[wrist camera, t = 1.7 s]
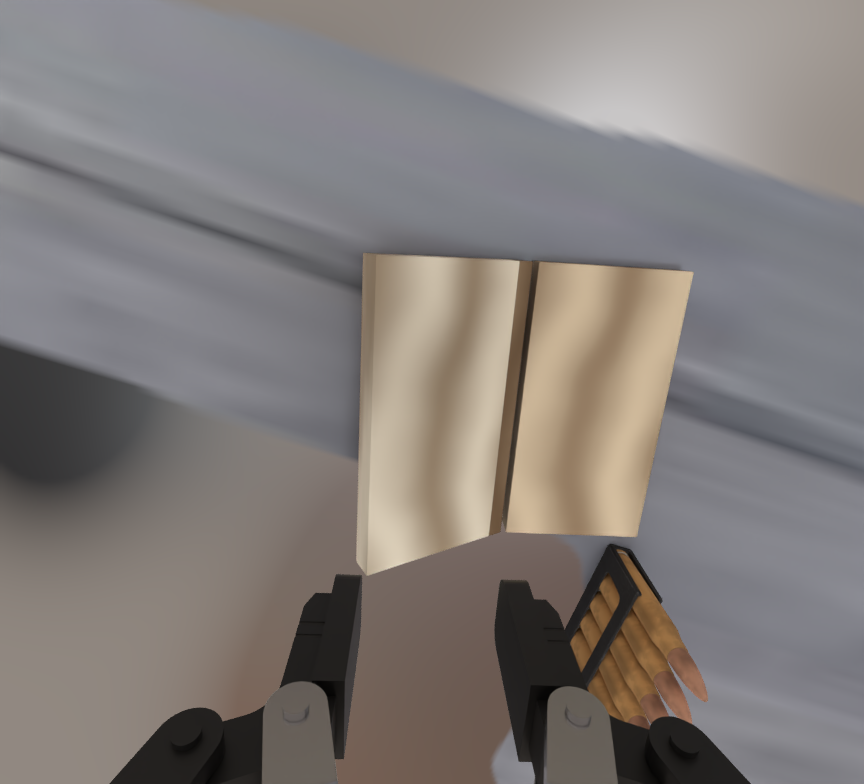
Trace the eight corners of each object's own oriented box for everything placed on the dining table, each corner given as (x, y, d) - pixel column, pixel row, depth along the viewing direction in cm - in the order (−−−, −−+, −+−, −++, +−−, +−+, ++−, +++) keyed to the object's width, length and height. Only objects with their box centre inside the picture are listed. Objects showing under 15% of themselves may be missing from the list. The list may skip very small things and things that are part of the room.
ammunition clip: (609, 542, 36) (699, 683, 25) (631, 549, 37) (731, 691, 25) (552, 653, 39) (609, 825, 28) (573, 659, 40) (638, 831, 28)
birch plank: (515, 259, 30) (532, 261, 29) (486, 521, 35) (500, 531, 34) (362, 252, 25) (376, 254, 23) (356, 561, 30) (366, 575, 29)
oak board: (680, 270, 31) (693, 271, 29) (627, 525, 36) (636, 536, 35) (533, 260, 30) (539, 261, 29) (502, 520, 35) (506, 532, 34)
